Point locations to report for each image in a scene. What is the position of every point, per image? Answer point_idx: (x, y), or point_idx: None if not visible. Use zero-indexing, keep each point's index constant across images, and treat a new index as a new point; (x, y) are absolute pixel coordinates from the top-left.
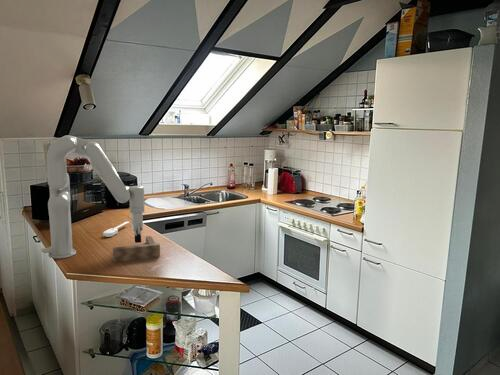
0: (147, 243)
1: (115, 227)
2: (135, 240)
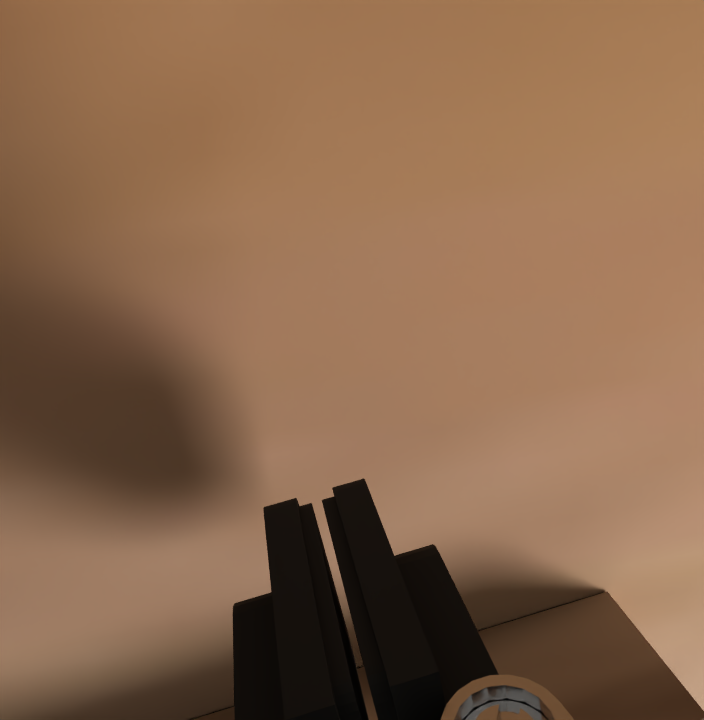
0: None
1: None
2: (270, 563)
